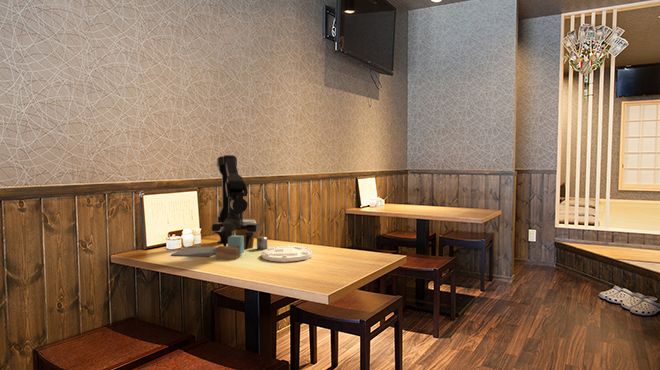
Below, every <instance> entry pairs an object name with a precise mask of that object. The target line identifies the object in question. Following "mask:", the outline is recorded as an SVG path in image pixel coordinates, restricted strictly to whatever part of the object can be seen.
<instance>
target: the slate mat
mask: <svg viewBox="0 0 660 370" xmlns="http://www.w3.org/2000/svg"><path fill="white" fill-rule="evenodd" d="M217 247H218V246H217ZM217 247H216V246H194V245H193V246H189V245H188V246H187V247H185V248H182V249H180V250H177V251H176V252H173V253H171V254H170V257H171V256H172V257H197V258H199V257H200V258H211V257H212V256H214V255H216V248H217Z"/></svg>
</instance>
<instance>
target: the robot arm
mask: <svg viewBox="0 0 660 370" xmlns="http://www.w3.org/2000/svg"><path fill="white" fill-rule="evenodd" d="M216 166H217V170H218V172H219V174H220V175H221V208H220V209H219V211H218V216H217V218H216V222H215V223H212V225H211V232H214V233H215V234H217V235H218V236H219V240H218V241H217V243H218V244H220V243H221V244H222V246H227V245H228V237H230V236H232V235H233V233H234V232H236V229H244V230H247V231H248V232H246V249H245V250H248V249H247V248H248V246H249V243H250V241H251V238H252V236H253V234H254V233H257V232H258V231H260V230H261V229H260V228H261V225H260V223H258V222H256V223H249V224H247V225H243V224H244V222H243V219H244V214H245V213H244V212H246V210H247V209H248V201H246V199H245V198H244V197H248V193H249V192H248V191H249V190H248V187H247V186H248V185H247V184H246V182H245V181H244V179H243V176H241V175H239V172H238V158H237V157H236V155H234V154H225V155H223V156H219V157H217V158H216ZM254 235H255V234H254Z"/></svg>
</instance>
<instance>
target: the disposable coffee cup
mask: <svg viewBox="0 0 660 370" xmlns="http://www.w3.org/2000/svg"><path fill="white" fill-rule="evenodd" d="M243 222H244V224H243V225H247V224H249V223H257V222H256V219H254V218H243ZM246 232H248V231H247V230H244V229H236V230H235V233H236V235H239V236H244V250H248V249H253V248H254V242H255V241H254V240H255V233H256V232H255V233H254V234H253V236H252V238H251V241H250V243H249V246H248V248H247V249H246Z"/></svg>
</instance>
